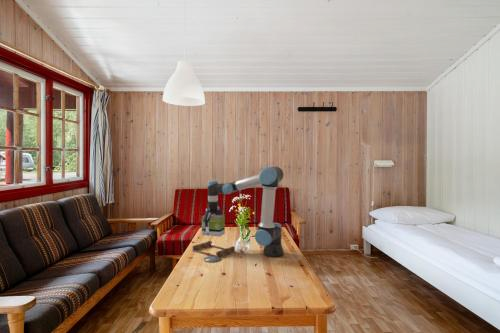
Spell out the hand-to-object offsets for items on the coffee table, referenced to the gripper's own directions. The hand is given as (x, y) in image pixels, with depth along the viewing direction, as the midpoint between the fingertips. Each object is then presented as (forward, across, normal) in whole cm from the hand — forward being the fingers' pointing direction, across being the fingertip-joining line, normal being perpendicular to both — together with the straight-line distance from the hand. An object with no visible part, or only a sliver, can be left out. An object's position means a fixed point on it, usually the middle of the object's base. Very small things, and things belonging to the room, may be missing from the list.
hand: (213, 229), depth 236 cm
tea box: (+4, 0, 0) cm, 4 cm away
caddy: (+17, 0, 0) cm, 17 cm away
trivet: (+17, +14, +13) cm, 25 cm away
